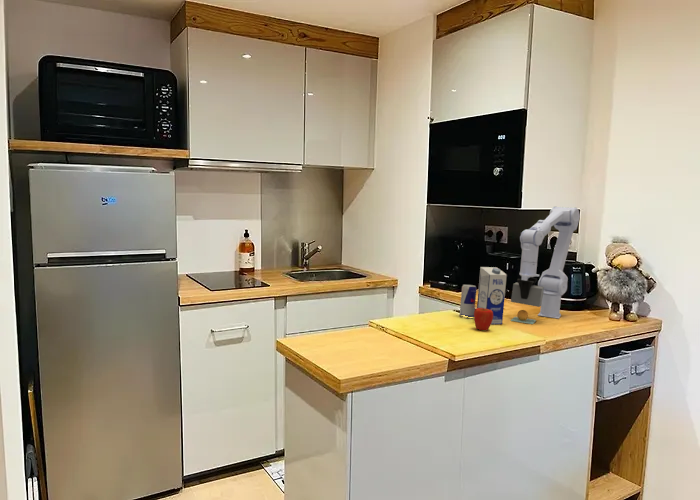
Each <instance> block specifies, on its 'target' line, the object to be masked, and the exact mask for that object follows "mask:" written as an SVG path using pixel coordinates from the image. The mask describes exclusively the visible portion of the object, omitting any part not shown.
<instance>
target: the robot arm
mask: <svg viewBox="0 0 700 500" xmlns="http://www.w3.org/2000/svg"><path fill="white" fill-rule="evenodd" d="M580 217H581V215H580V210H579V208H577V207H564V206H553V207H551V209H550V211H549V215H547V216H546V218H545V219H539V220H537V222H536V223H534V225H532V226H531V227H530V228H528V229H524V230H523V231H522V232H520V236H519V242H520V248H521V259H520V268H519V269H520V271H519V276H520V278H517V283H519V287H520V293H521V298H522V299H527V298H528V295H529V291H530V288H531V286H532V285H535V284H536V282H537V286H541V287H544V292H543V298H542V305H541V306H540V311H539V313H538V314H537V316H538V317H539V316H540V317H546V318H554V319H560V318H561V316H562V315H561V314H562V313H561V312H560V311H561V309H560V308H561V302H562V301H561V300H562V296H564V295H565V293H566V292H567V291H568V282H569V281H568V280H569V278H568V276H567V275H566V274H565V272H564V268H565V263H566V261H567V260H566V259H567V256H568V253H569V249H570V246H571V241H572V238H573V234H574V231H576V230H577V229H578V226H579V222H580ZM552 227H554V229H556V230H558V235H557V239H556V243H555V245H554V250H553V253H552V257H551V262H550V265H549V268H548V269H546V270H544V271H542V273H541V275H540V273H539V274H537V267H538V259H539V258H538V257H539V246H542V243H543V240H544V239H545V236H547V235H548V234H549V233H551V231H552V230H551V229H552ZM537 277H539V280H538V278H537Z"/></svg>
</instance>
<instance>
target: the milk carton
mask: <svg viewBox="0 0 700 500" xmlns="http://www.w3.org/2000/svg"><path fill="white" fill-rule="evenodd" d="M479 269H480V270H479V281H478V282H479V283H478V291H477V303H476V309H477V308H484V309H489V310H492V311H493V320H492V323H491V325H503V319H504V307H505V299H506V298H505V296H506V288H507V287H506V286H507V277H508V274H507V273H505V272H504V271H503V270H501V269H500V268H498V267H496V266H495V267H494V266H493V267H492V266H491V267H489V266H480V268H479Z"/></svg>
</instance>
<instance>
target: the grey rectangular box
mask: <svg viewBox="0 0 700 500" xmlns="http://www.w3.org/2000/svg"><path fill="white" fill-rule="evenodd" d="M543 292H544V287H541V286H538V285H535V284H534V285H532V286H531V288H530V291H529V295H528V298H527V299H522V298H521V293H520V287H519V283H518V281H517V282H515V283H513V284H512V291H511V298H510V302H511V303H516V304H521V305H527V306H533V307H538V308H539V307H540V308H541V305H542V298H543Z"/></svg>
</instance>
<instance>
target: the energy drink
mask: <svg viewBox="0 0 700 500" xmlns="http://www.w3.org/2000/svg"><path fill="white" fill-rule="evenodd" d="M476 300H477V286H476V285H473V284H462V286H461V294H460V306H459V316H460V315H465V316H468V317H474V311H475V309H476Z"/></svg>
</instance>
